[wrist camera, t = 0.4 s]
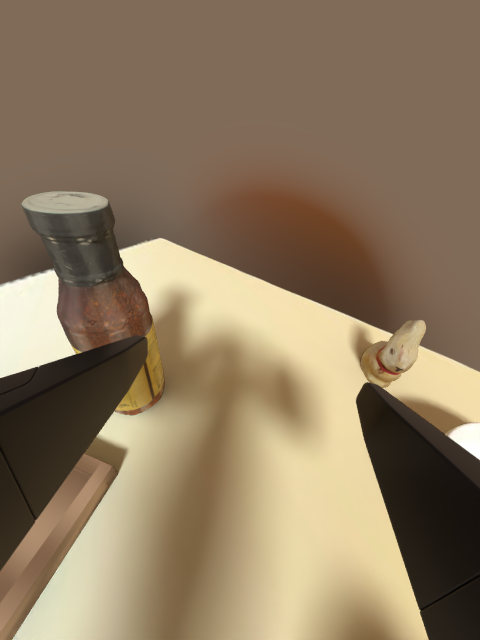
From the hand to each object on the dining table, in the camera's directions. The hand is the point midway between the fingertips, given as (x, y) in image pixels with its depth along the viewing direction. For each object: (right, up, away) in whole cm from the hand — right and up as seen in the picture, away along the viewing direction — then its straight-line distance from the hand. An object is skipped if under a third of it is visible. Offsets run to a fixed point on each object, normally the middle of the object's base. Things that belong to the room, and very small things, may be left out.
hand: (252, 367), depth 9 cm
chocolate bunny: (+20, -6, +24) cm, 32 cm away
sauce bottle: (-12, -6, +16) cm, 21 cm away
